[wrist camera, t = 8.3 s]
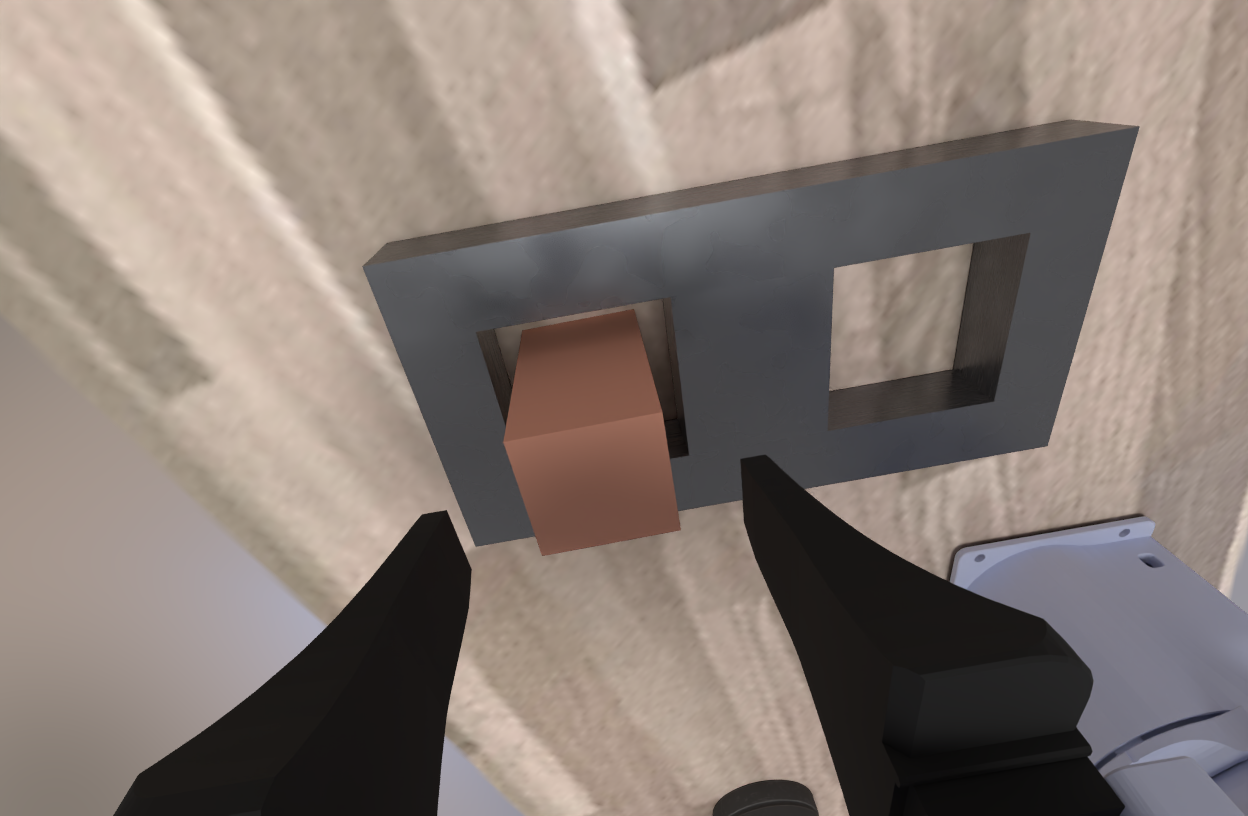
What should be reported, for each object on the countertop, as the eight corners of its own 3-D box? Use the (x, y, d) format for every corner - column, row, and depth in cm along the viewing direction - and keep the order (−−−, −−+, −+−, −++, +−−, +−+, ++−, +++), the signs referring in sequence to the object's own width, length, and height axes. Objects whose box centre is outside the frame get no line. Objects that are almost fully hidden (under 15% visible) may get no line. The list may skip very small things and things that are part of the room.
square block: (633, 309, 20) (662, 412, 14) (649, 404, 22) (680, 529, 16) (522, 330, 20) (503, 442, 14) (549, 423, 22) (541, 555, 16)
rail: (1071, 119, 18) (1139, 125, 16) (1003, 412, 24) (1047, 446, 21) (386, 243, 18) (362, 266, 16) (484, 503, 24) (475, 546, 22)
